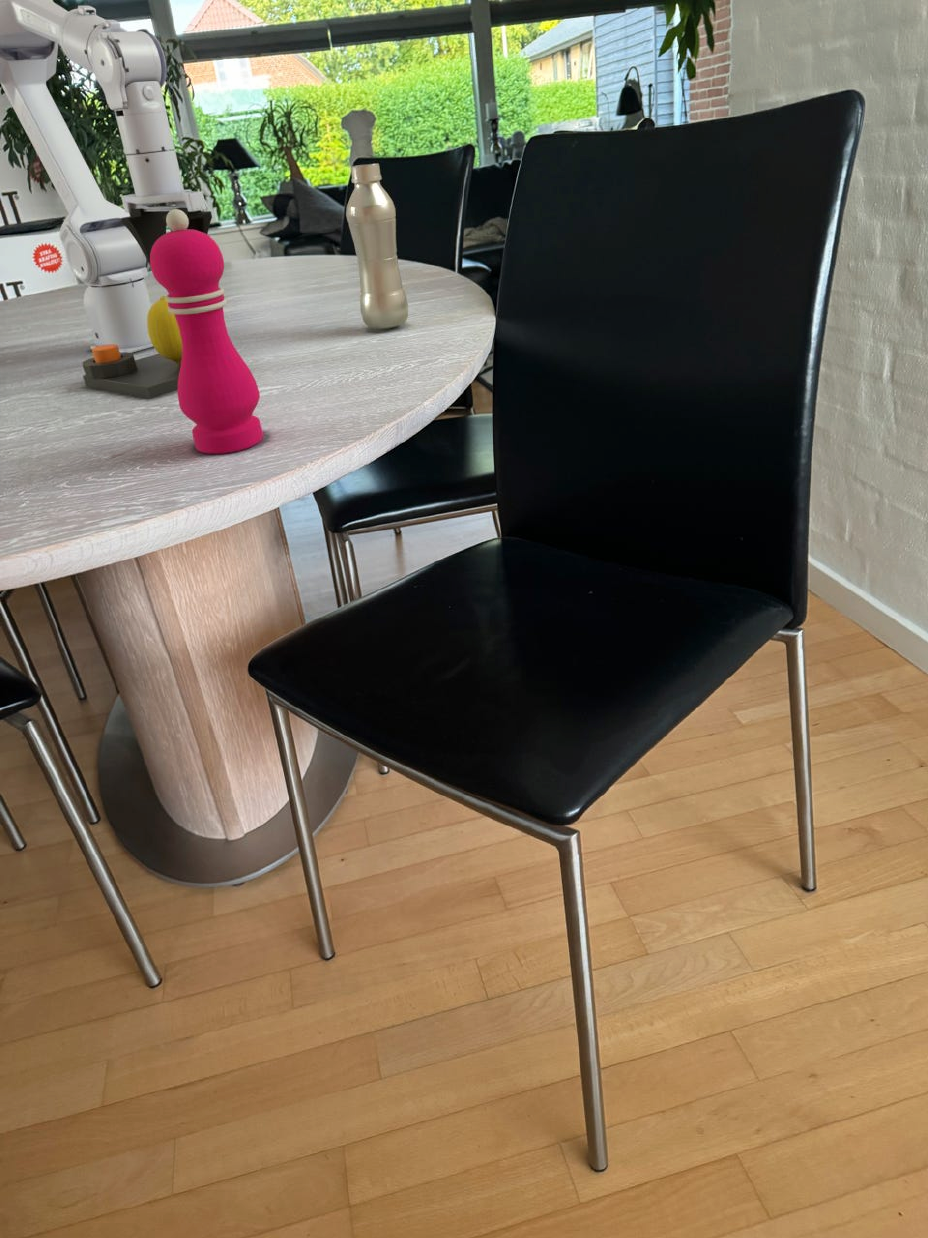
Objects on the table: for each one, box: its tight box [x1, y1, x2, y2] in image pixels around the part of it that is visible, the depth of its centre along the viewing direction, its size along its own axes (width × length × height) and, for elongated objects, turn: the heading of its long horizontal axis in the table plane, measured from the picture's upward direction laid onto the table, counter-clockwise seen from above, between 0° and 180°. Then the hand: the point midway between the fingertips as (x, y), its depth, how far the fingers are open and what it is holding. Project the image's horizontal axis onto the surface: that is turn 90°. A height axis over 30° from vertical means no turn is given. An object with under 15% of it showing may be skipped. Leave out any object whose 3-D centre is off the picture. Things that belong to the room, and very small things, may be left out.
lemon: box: [147, 295, 182, 365], centre depth 103 cm, size 6×6×8 cm
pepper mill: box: [150, 209, 264, 455], centre depth 76 cm, size 7×7×20 cm
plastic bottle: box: [345, 163, 409, 330], centre depth 114 cm, size 6×7×20 cm
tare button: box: [91, 344, 121, 363], centre depth 104 cm, size 3×3×2 cm
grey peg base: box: [82, 352, 181, 400], centre depth 105 cm, size 14×12×3 cm
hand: (179, 274), depth 110 cm, fingers open, 7 cm apart
